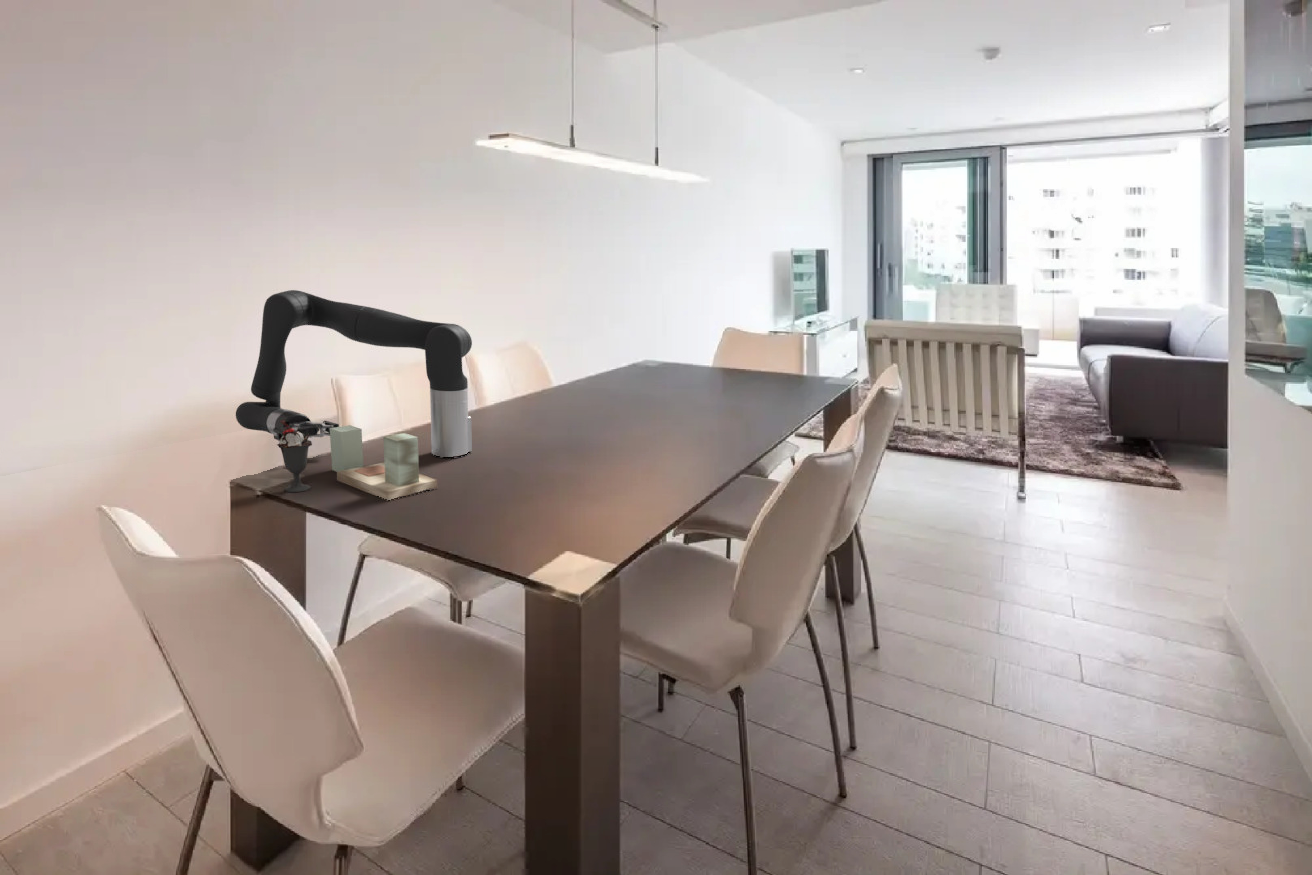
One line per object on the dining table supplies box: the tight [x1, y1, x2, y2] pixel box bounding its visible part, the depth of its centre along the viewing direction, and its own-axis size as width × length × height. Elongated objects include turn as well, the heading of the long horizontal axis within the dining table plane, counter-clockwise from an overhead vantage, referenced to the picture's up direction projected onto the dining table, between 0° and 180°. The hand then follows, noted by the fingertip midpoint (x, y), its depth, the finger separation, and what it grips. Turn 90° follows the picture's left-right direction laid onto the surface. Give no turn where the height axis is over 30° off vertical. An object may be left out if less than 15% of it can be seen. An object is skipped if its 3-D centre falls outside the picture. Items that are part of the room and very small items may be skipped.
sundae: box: [276, 421, 313, 493], centre depth 155 cm, size 7×7×15 cm
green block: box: [329, 424, 364, 473], centre depth 171 cm, size 5×5×10 cm
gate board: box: [336, 432, 438, 501], centre depth 161 cm, size 12×20×12 cm, turn 52°
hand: (322, 436), depth 177 cm, fingers open, 8 cm apart
